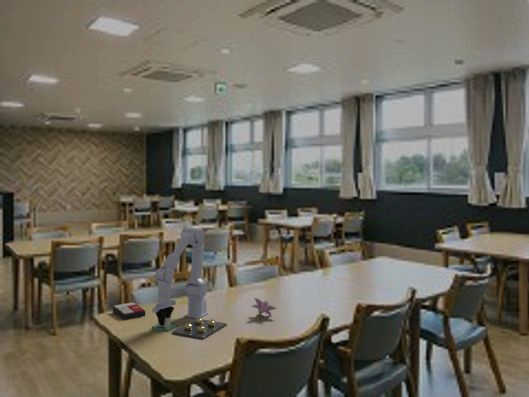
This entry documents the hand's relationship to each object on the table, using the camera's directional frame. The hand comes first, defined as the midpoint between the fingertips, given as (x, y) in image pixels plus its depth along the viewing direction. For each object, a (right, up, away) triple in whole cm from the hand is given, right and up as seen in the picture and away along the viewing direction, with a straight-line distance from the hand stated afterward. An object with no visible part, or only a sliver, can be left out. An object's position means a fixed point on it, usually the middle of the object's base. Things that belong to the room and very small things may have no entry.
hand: (164, 324), depth 205 cm
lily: (+45, -2, +17) cm, 48 cm away
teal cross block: (0, -2, 0) cm, 2 cm away
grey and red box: (-22, -1, +19) cm, 29 cm away
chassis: (+17, -2, -2) cm, 17 cm away
